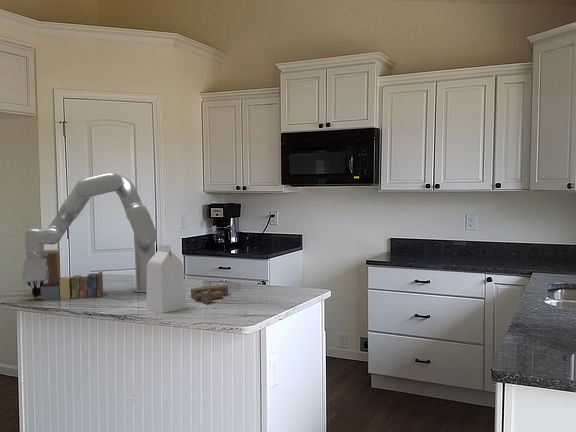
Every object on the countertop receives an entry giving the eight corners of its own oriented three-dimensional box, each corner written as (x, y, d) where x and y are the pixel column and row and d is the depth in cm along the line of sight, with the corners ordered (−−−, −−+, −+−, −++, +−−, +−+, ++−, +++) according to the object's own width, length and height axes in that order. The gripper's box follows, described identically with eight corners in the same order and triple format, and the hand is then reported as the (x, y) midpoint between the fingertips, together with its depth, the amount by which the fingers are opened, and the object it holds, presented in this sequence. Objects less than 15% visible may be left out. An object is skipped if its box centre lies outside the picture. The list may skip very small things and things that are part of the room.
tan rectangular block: (72, 296, 252) (71, 276, 252) (69, 298, 246) (68, 279, 246) (63, 296, 251) (62, 277, 251) (60, 299, 245) (59, 279, 245)
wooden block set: (188, 286, 242) (225, 282, 251) (188, 299, 242) (226, 294, 251) (203, 292, 227) (242, 287, 237) (203, 305, 228) (242, 300, 237)
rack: (103, 292, 260) (102, 271, 259) (99, 297, 249) (99, 275, 248) (53, 295, 255) (52, 273, 255) (48, 300, 244) (47, 277, 244)
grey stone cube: (62, 296, 251) (61, 283, 251) (59, 299, 245) (59, 286, 245) (44, 297, 250) (44, 284, 249) (41, 300, 244) (41, 286, 243)
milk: (146, 308, 223) (143, 245, 222) (170, 303, 231) (168, 242, 230) (161, 313, 215) (159, 247, 213) (186, 307, 223) (184, 244, 221)
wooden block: (35, 295, 257) (33, 252, 255) (39, 291, 266) (37, 250, 265) (58, 293, 259) (56, 251, 258) (61, 289, 269) (59, 249, 268)
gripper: (54, 254, 250) (55, 294, 251) (19, 255, 247) (20, 295, 248) (50, 256, 243) (52, 297, 244) (14, 257, 240) (16, 299, 241)
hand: (36, 296), depth 246 cm, fingers closed
